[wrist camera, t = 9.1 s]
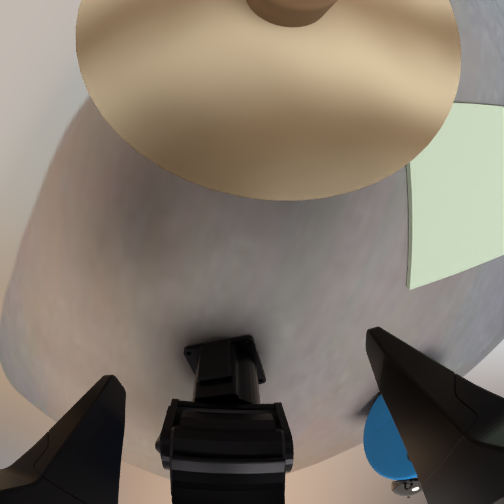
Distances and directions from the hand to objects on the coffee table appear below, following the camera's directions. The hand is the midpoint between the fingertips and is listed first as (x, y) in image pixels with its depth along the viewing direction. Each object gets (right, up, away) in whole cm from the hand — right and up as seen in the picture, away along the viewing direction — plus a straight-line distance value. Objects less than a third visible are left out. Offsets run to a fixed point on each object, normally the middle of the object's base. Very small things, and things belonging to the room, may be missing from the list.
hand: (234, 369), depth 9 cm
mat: (+21, +9, +11) cm, 25 cm away
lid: (+2, +14, -1) cm, 14 cm away
